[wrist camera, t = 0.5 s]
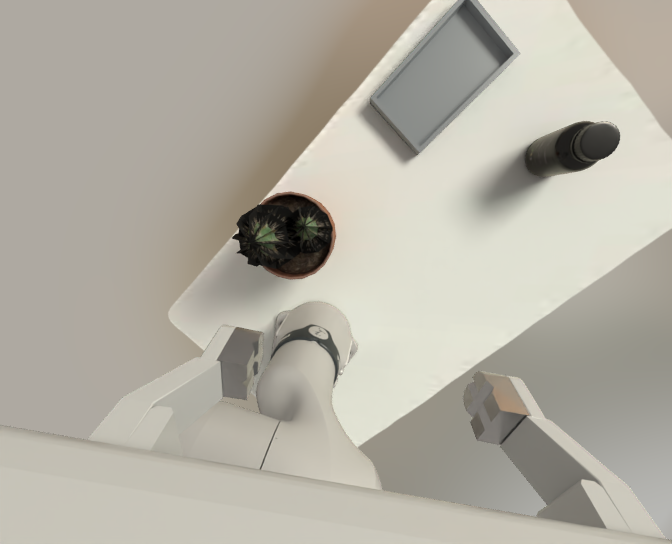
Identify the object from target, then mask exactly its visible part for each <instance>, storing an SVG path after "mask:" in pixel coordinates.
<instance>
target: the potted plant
mask: <svg viewBox="0 0 672 544" xmlns="http://www.w3.org/2000/svg"><path fill="white" fill-rule="evenodd" d="M237 226H238V227H239V233H238V234H235V235H234V236H233V237H232V239H236V240H239V243H240V249H241V250H240V251H238V252H237V253H241V254H243V255H244V256H246V257H248V264H250V265H253V266H256V267H257V266H258V265H261V266H263V267H264V268H265V269H266V270H267V271H269V272H271V273H272V274H274V275H276V276H278V277H282V278H286V279H302V278H305V277H308V276H310V275H312V274H315V273H316V272H317V271H318V270H319V269H320V268H322V267H323V266H324V265H325V263H326V262H327V260H328V258H329V256H330V255H331V253H332V250H333V248H334V243H335V238H336V233H335V224H334V222H333V220H332V217H331V215H330V213H329V212H328V211H327V209H326V208H325V207H324V206H323V205H322V204H321V203H320V202H318V201H316V200H315V199H313V198H311V197H309V196H307V195H304V194H299V193H294V192H284V193H277V194H275V195H273V196H271V197H269V198H267V199H265V200H264V201H263V202H262V203H261V204H260V205H257V207H255V208H254V209H252V210H250V211H249V212H247V213H246V214H244V215H242V216H241V217H240V219H239V221H238V222H237Z"/></svg>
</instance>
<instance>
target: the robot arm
mask: <svg viewBox="0 0 672 544" xmlns="http://www.w3.org/2000/svg"><path fill="white" fill-rule="evenodd" d="M281 322H282V324H281ZM263 341H264V333H263V332H259V331H254V330H249V329H244V328H239V327H233V326H228V325H222V326H221V327H220V328H219V330H218V331H217V333H216V334H215V336H214V337H213V339H212V340H211V342H210V343H209V345H208V346H207V348H206V349H205V351H204V352H203V354H202V356H201V357H200V358H198V357H195V358H193V359H192V360H190V361H188V362H186V363H184V364H182V365H181V366H179V367H177V368H175V369H173V370H172V371H170V372H168V373H166V374H164V375H163V376H161V377H159V378H157V379H155V380H154V381H152V382H150V383H148V384H146V385H144V386H143V387H141V388H139V389H137V390H135V391H134V392H132V393H130V394H128V395H126V396H125V397H123V398H122V399H121V400H120V401H119V402H118V404H117V405H116V406H115V407H114V408H113V410H112V411H111V412H110V413H109V414H108V415H107V417H106V418H105V419H104V420H103V421H102V423H101V424H100V425H99V426H98V427H97V429H96V430H95V431H94V432H93V433H92V435H91V436H90V437H89V438H88V439H87V440H85V439H80V438H73V437H68V436H62V435H56V434H50V433H44V432H39V431H33V430H27V429H21V428H15V427H10V426H4V425H0V544H672V540H669V539H666V538H665V537H664V535H663V534H662V532H661V531H660V529H659V528H658V527H657V525H656V524H655V522H654V521H653V520H652V518H651V517H650V515H649V514H648V513H647V511H646V510H645V509H644V507H643V506H642V504H641V503H640V501H639V500H638V499H637V498H636V496H635V494H634V493H633V492H632V490H631V489H630V487H629V486H628V485H626V484H625V483H624V482H623V481H622V480H620V479H619V478H618V477H617V476H616V475H615V474H613V473H612V472H611V471H610V470H609V469H607V468H606V467H605V466H604V465H603V464H602V463H600V462H599V461H598V460H597V459H596V458H595V457H593V456H592V455H591V454H590V453H589V452H587V451H586V450H585V449H584V448H583V447H582V446H580V445H579V444H578V443H577V442H576V441H574V440H573V439H572V438H571V437H570V436H569V435H567V434H566V433H565V432H564V431H563V430H561V429H560V428H559V427H558V426H557V425H556V424H554V423H553V422H552V421H551V420H547V419H546V418H545V417H544V415H543V413H542V412H541V410H540V408H539V407H538V405H537V404H536V402H535V400H534V399H533V397H532V395H531V394H530V392H529V390H528V389H527V387H526V385H525V384H524V382H523V381H522V380H521V379H520V378H517V377H511V376H504V375H500V374H494V373H488V372H482V371H478V372H476V373H475V374H474V376H473V377H472V378H473V380H474V382H472V383H470V384H468V385H467V387H466V389H465V390H464V396H463V400H464V405H465V408H466V411H467V412H468V413H469V414H470V415H471V416H472V419H471V425H472V428H473V431H474V434H475V437H476V439H477V441H482V442H487V443H492V444H497V445H501V446H500V447H501V448H502V450H503V451H504V452H505V453H506V454H507V456H508V457H509V458H510V460H511V461H512V462H513V463H514V464H515V466H516V467H517V468H518V469H519V471H520V472H521V473H522V474H523V476H524V477H525V478H526V479H527V481H528V482H529V483H530V484H531V486H532V487H533V488H534V489H535V491H536V492H537V493H538V494H539V496H540V497H541V498H542V499H543V500H544V502H545V503H546V504H547V506H546V507H544V508H543V509H542V510H540V511H539V512H538V514H537V517H534V516H529V515H522V514H517V513H511V512H505V511H500V510H494V509H487V508H482V507H476V506H470V505H465V504H459V503H453V502H447V501H441V500H435V499H430V498H424V497H418V496H412V495H406V494H400V493H395V492H388V491H383V490H382V485H381V482H380V479H379V476H378V473H377V471H376V469H375V467H374V465H373V463H372V461H371V460H369V459H368V458H367V457H366V456H365V455H364V454H363V453H362V452H361V451H360V450H359V449H358V448H357V447H356V446H355V444H354V443H353V442H352V441H351V439H350V438H349V437H348V435H347V434H346V432H345V431H344V429H343V428H342V426H341V424H340V422H339V421H338V418H337V416H336V414H335V412H334V409H333V405H332V392H333V388H334V387H335V386H336V384H337V382H338V378H337V377H338V375H342V374H343V372H344V367H345V366H346V365H347V363H348V362H349V361H350V360H351V358H352V357H353V356H354V355H355V353H356V352H357V350H358V345H357V343H356V342H355V340H354V339H353V337H352V335H351V331H350V327H349V324H348V321H347V319H346V318H345V316H344V315H343V314H342V313H341V312H340V311H339V310H338V309H337V308H335V307H334V306H332V305H329V304H327V303H323V302H308V303H305V304H302V305H300V306H298V307H297V308H295V309H294V310H291V311H284V312H281V313H280V314H279V315H278V317H277V322H276V328H275V335H274V342H273V348H272V355H271V361H270V362H269V364H268V366H267V367H266V369H265V370H264V372H263V374H262V375H261V377H260V379H259V381H258V384H257V390H256V397H257V403H258V407H259V410H260V413H261V414H260V413H257V412H254V411H251V410H248V409H245V408H242V407H240V406H236V405H234V404H231V403H228V402H223V401H220V400H221V399H222V398H223V397H230V398H237V399H243V400H247V398H248V396H249V394H250V391H251V389H252V386H253V384H254V376H255V375H256V374H257V373H258V371H259V368H260V365H261V362H262V357H263V347H262V346H261V345H262V343H263ZM350 351H351V353H350Z"/></svg>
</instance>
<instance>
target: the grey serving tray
mask: <svg viewBox="0 0 672 544" xmlns="http://www.w3.org/2000/svg"><path fill="white" fill-rule="evenodd" d="M519 54H520V52H519V51H518V49H517V48H516V47H515V46H514V45H513V43H512V42H511V41H510V40H509V38H508V37H507V36H506V35H505V33H504V32H503V31H502V30H501V29H500V27H499V26H498V25H497V24H496V22H495V21H494V20H493V19H492V17H491V16H490V15H489V14H488V13H487V11H486V10H485V9H484V8H483V6H482V5H481V4H480V3H479V1H478V0H458V1H457V2H456V3H455V4H454V5H453V6H452V7H451V9H450V10H449V11H448V12H447V13H446V14H445V15H444V16H443V17H442V19H441V20H440V21H439V22H438V23H437V24H436V25H435V26H434V28H433V29H432V30H431V31H430V32H429V33H428V34H427V35H426V36H425V38H424V39H423V40H422V41H421V42H420V43H419V44H418V45H417V46H416V48H415V49H414V50H413V51H412V52H411V53H410V54H409V55H408V56H407V58H406V59H405V60H404V61H403V62H402V63H401V64H400V65H399V66H398V68H397V69H396V70H395V71H394V72H393V73H392V74H391V75H390V76H389V78H388V79H387V80H386V81H385V82H384V83H383V84H382V85H381V86H380V88H379V89H378V90H377V91H376V92H375V93H374V94H373V95H372V96H371V98H370V103H371V104H372V105H373V107H374V108H375V109H376V110H377V111H378V112H379V113H380V114H381V115H382V117H383V118H384V119H385V120H386V121H387V122H388V123H389V124H390V126H391V127H392V128H393V129H394V130H395V131H396V132H397V133H398V134H399V136H400V137H401V138H402V139H403V140H404V141H405V142H406V143H407V144H408V146H409V147H410V148H411V149H412V150H413V151H414V152H415V153H416V154H417V155H418V154H419V153H420V152H421V151H422V150H423V149H424V148H425V147H426V146H427V145H428V144H429V143H430V142H431V141H432V140H433V139H434V138H435V137H436V136H437V135H438V134H439V133H440V132H441V131H442V130H443V129H444V128H445V127H446V126H448V125H449V124H450V123H451V122H452V121H453V120H454V119H455V118H456V117H457V116H458V115H459V114H460V113H461V112H462V111H463V110H464V109H465V108H466V107H467V106H468V105H469V104H470V103H471V102H472V101H473V100H474V99H475V98H476V97H477V96H478V95H479V94H480V93H481V92H482V91H483V90H484V89H485V88H486V87H487V86H488V85H489V84H490V83H491V82H492V81H493V80H494V79H495V78H496V77H497V76H498V75H499V74H500V73H501V72H502V71H503V70H504V69H505V68H506V67H507V66H508V65H509V64H510V63H511V62H512V61H513V60H514V59H515V58H516V57H517V56H518V55H519Z"/></svg>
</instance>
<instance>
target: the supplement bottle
mask: <svg viewBox="0 0 672 544" xmlns="http://www.w3.org/2000/svg"><path fill="white" fill-rule="evenodd" d="M619 141H620V132H619V130H618V128H617V127H616V126H615V125H614V124H612V123H611V122H607V121H606V122H603V121H602V122H597V123H594V122H590V121H582V122H577V123H574V124H572V125H569V126H567V127H564V128H562V129H559V130H557V131H555V132H552V133H550V134H547V135H545V136H543V137H541V138H539V139H537V140H536V141H535V142H534V143H533V144H532V145H531V146H530V147H529V149H528V151H527V153H526V159H525V161H526V166H527V168H528V170H529V171H530V172H531V173H532V174H534V175H536V176H539V177H549V176H555V175H561V174H567V173H572V172H578V171H582V170H585V169H587V168H589V167H591V166H593V165H594V164H595V163H596V162H597V161H599V160H601V159H604V158H605V157H608V156H609V155H610V154H612V152H613V151H615V149H616V148H617V146H618V144H619Z"/></svg>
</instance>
